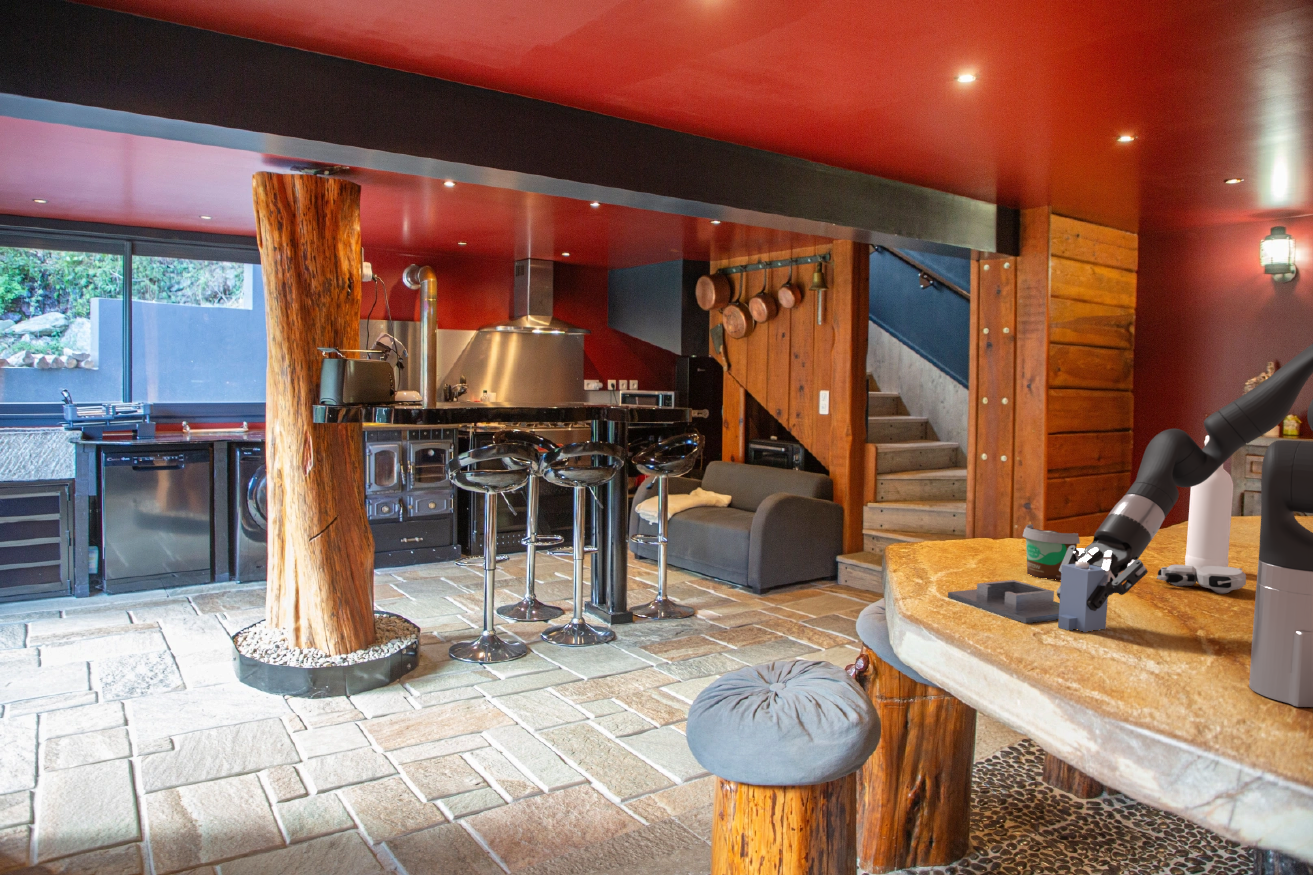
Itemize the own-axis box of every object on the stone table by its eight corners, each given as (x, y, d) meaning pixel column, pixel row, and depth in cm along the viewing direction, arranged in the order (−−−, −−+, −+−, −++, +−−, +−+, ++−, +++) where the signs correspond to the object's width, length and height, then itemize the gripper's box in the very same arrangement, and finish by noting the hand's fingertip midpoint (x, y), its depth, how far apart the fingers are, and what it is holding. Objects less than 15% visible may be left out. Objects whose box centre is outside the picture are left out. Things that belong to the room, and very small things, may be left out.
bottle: (1176, 567, 190) (1185, 434, 188) (1202, 566, 193) (1212, 434, 191) (1208, 575, 183) (1218, 437, 181) (1236, 574, 185) (1246, 437, 183)
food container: (1007, 571, 182) (1010, 525, 181) (1028, 569, 185) (1030, 523, 184) (1056, 584, 171) (1059, 535, 170) (1077, 582, 174) (1080, 533, 173)
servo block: (1105, 629, 139) (1109, 564, 139) (1076, 633, 137) (1080, 567, 136) (1079, 621, 144) (1083, 558, 143) (1050, 624, 141) (1054, 560, 140)
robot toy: (1155, 592, 171) (1246, 599, 162) (1155, 569, 171) (1246, 575, 162) (1160, 581, 181) (1245, 587, 172) (1159, 560, 181) (1245, 565, 172)
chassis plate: (1084, 616, 147) (1086, 596, 147) (1025, 623, 142) (1026, 603, 141) (1003, 591, 164) (1004, 573, 163) (947, 597, 158) (948, 578, 158)
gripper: (1179, 550, 139) (1124, 629, 134) (1102, 534, 152) (1049, 606, 147) (1160, 519, 136) (1103, 599, 132) (1082, 506, 149) (1028, 578, 145)
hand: (1075, 602), depth 140 cm, fingers closed on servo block, 5 cm apart
